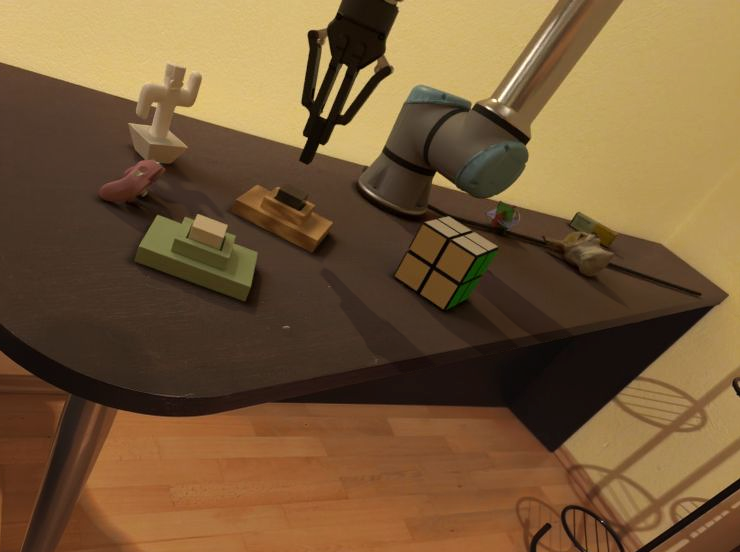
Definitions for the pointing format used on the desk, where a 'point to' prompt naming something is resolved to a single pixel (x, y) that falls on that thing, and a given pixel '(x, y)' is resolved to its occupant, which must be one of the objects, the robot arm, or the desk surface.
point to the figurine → (163, 114)
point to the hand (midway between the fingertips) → (305, 161)
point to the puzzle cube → (445, 262)
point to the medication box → (593, 228)
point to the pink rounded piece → (133, 182)
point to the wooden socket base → (282, 217)
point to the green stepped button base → (198, 258)
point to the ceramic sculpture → (581, 251)
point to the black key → (292, 196)
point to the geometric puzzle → (504, 216)
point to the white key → (208, 232)
